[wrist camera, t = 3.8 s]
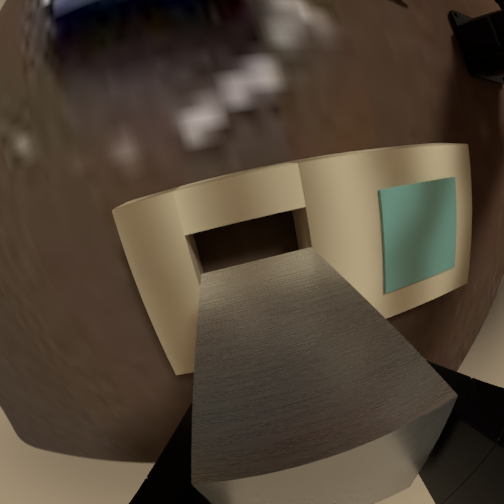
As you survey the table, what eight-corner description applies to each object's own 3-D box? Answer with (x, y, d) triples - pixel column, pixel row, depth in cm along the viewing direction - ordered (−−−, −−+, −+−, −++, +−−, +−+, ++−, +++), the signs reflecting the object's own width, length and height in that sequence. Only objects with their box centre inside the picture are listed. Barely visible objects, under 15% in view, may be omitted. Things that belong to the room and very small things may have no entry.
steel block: (310, 247, 11) (457, 395, 3) (322, 335, 12) (409, 486, 4) (201, 274, 10) (191, 483, 3) (229, 360, 12) (253, 536, 4)
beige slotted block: (439, 142, 16) (470, 144, 13) (443, 269, 19) (469, 284, 16) (129, 201, 15) (110, 210, 12) (180, 346, 18) (175, 377, 15)
